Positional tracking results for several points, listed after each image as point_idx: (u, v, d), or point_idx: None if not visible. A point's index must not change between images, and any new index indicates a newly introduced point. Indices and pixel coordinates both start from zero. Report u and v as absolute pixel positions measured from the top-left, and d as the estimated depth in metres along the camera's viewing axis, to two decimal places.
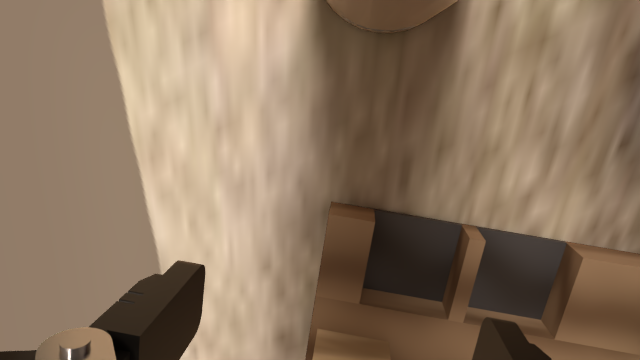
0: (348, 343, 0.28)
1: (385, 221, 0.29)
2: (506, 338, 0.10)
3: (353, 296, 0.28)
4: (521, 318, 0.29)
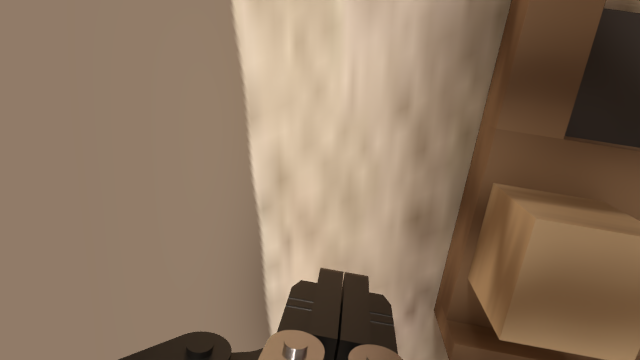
0: (550, 196, 0.18)
1: None
2: (349, 287, 0.11)
3: (555, 126, 0.19)
4: None
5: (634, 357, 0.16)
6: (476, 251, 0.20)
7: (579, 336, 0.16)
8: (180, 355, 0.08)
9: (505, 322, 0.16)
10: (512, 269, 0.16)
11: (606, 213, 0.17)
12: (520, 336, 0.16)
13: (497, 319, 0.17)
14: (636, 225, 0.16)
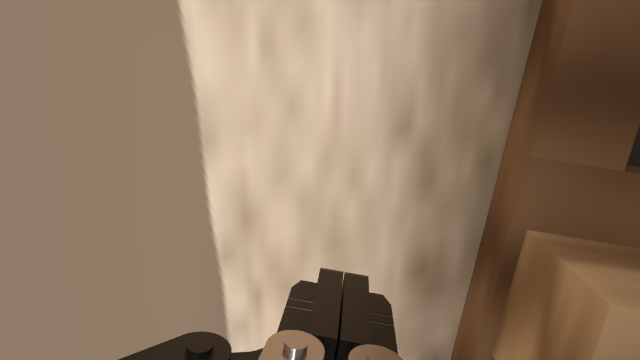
0: (608, 251, 0.13)
1: None
2: (349, 287, 0.11)
3: (614, 154, 0.14)
4: None
5: None
6: (503, 320, 0.15)
7: None
8: (180, 355, 0.08)
9: None
10: None
11: None
12: None
13: None
14: None
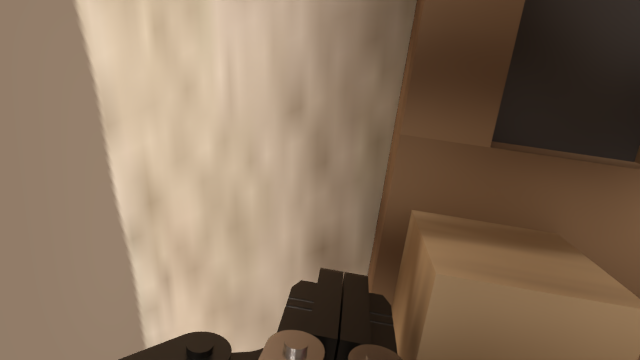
0: (483, 229, 0.14)
1: None
2: (349, 287, 0.11)
3: (479, 131, 0.14)
4: None
5: None
6: (394, 299, 0.15)
7: None
8: (180, 355, 0.08)
9: None
10: (413, 342, 0.11)
11: (554, 256, 0.12)
12: None
13: None
14: (592, 277, 0.11)
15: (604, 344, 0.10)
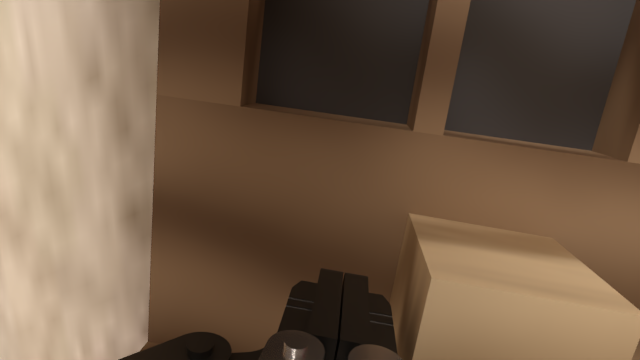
0: (479, 233, 0.14)
1: None
2: (349, 287, 0.11)
3: (227, 90, 0.14)
4: (555, 146, 0.16)
5: None
6: (390, 302, 0.15)
7: None
8: (180, 355, 0.08)
9: None
10: (408, 346, 0.11)
11: (549, 260, 0.12)
12: None
13: None
14: (586, 282, 0.11)
15: (596, 349, 0.10)
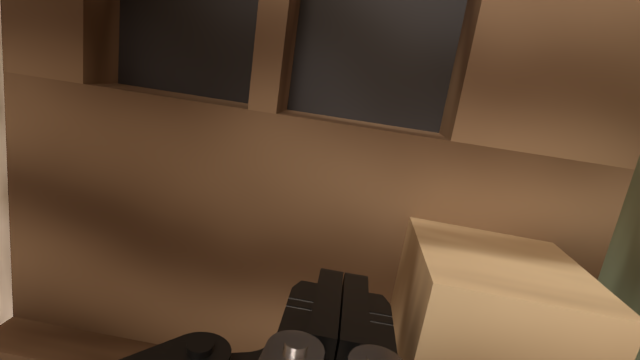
0: (480, 238, 0.14)
1: None
2: (349, 287, 0.11)
3: (70, 68, 0.15)
4: (401, 128, 0.16)
5: None
6: (391, 305, 0.15)
7: None
8: (180, 355, 0.08)
9: None
10: (409, 350, 0.11)
11: (550, 265, 0.12)
12: None
13: None
14: (587, 288, 0.11)
15: (597, 355, 0.10)
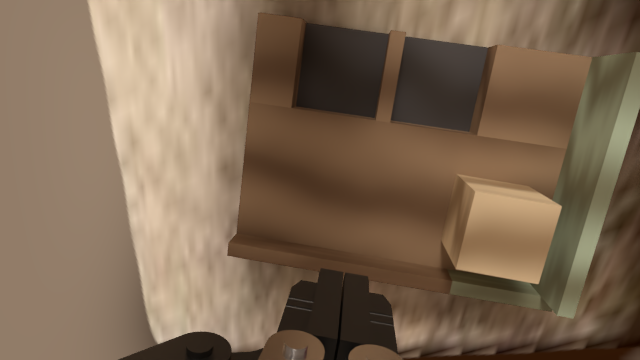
0: (492, 182, 0.28)
1: (317, 34, 0.30)
2: (349, 287, 0.11)
3: (285, 100, 0.29)
4: (449, 129, 0.31)
5: (539, 279, 0.25)
6: (446, 220, 0.30)
7: (504, 266, 0.25)
8: (180, 355, 0.08)
9: (459, 257, 0.26)
10: (463, 225, 0.26)
11: (525, 191, 0.27)
12: (468, 266, 0.26)
13: (455, 257, 0.26)
14: (540, 197, 0.26)
15: (542, 220, 0.24)
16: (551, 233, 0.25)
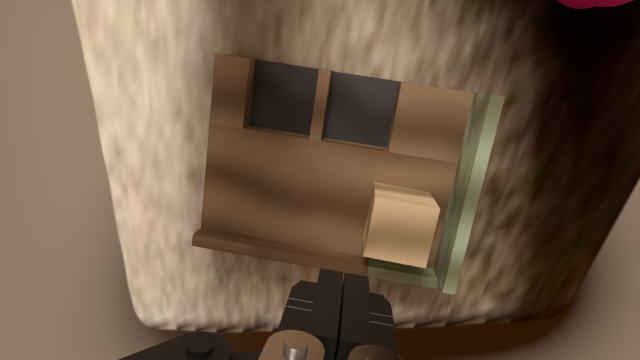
0: (399, 189, 0.36)
1: (264, 68, 0.38)
2: (349, 287, 0.11)
3: (237, 122, 0.37)
4: (371, 145, 0.38)
5: (426, 264, 0.33)
6: (366, 218, 0.38)
7: (399, 254, 0.33)
8: (180, 355, 0.08)
9: (365, 247, 0.33)
10: (369, 222, 0.33)
11: (421, 197, 0.35)
12: (372, 254, 0.33)
13: (364, 247, 0.34)
14: (428, 202, 0.33)
15: (426, 219, 0.32)
16: (433, 229, 0.32)
